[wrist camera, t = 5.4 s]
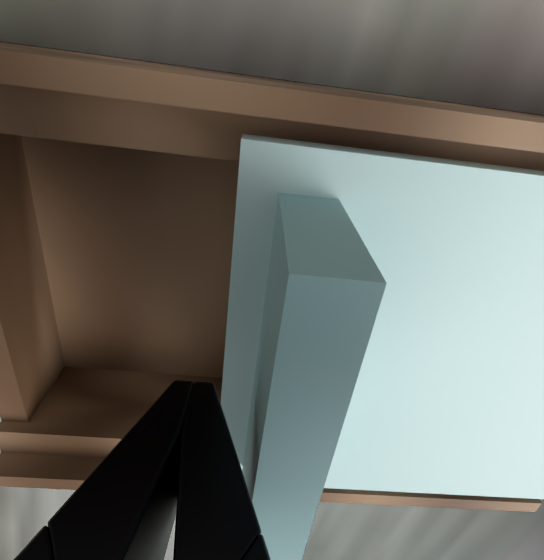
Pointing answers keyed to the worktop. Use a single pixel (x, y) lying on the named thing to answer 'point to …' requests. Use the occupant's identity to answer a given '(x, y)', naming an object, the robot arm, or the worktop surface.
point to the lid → (382, 329)
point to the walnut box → (161, 235)
